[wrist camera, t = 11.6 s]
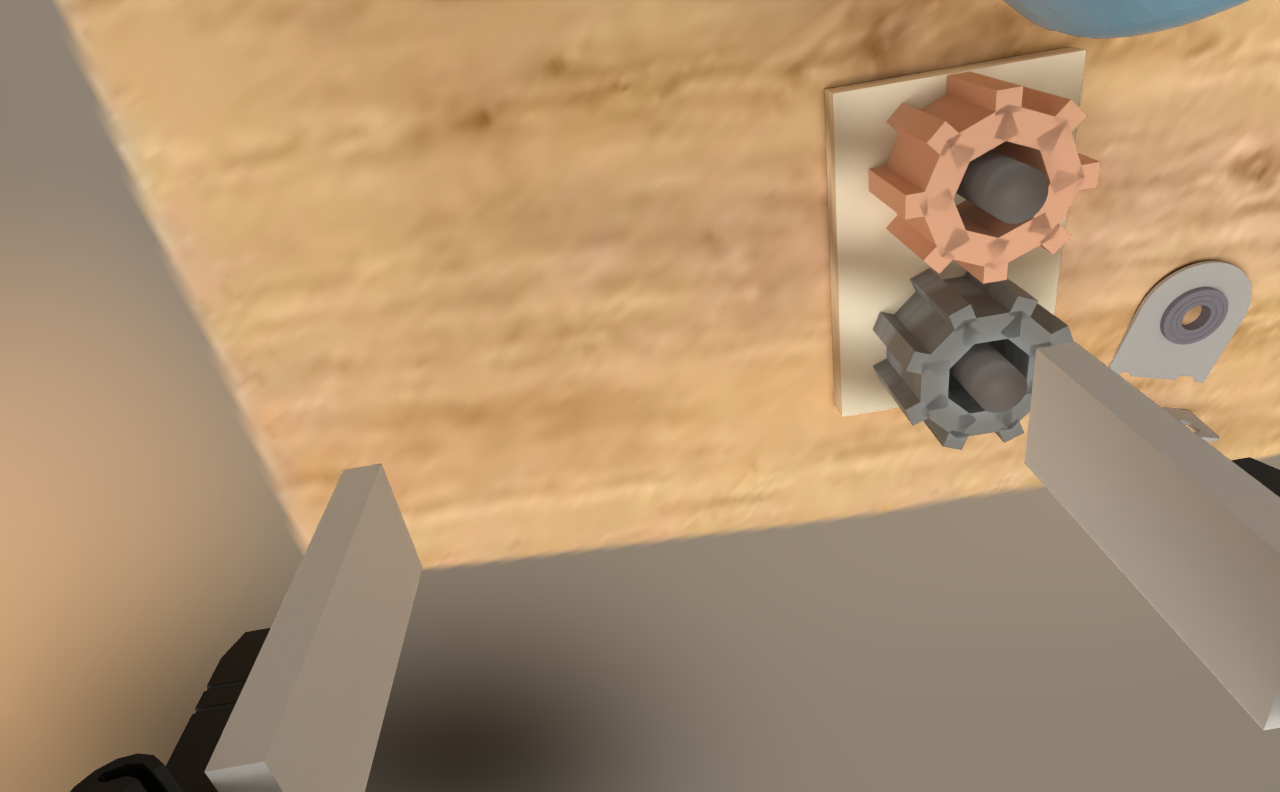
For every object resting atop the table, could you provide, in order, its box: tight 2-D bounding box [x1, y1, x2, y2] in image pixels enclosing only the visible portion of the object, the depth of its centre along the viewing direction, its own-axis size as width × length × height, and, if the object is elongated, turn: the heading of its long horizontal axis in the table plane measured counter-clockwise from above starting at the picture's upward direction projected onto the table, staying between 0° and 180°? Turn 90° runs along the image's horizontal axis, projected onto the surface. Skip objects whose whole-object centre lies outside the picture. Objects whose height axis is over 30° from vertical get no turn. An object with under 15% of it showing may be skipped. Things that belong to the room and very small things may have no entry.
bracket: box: [1109, 261, 1252, 442], centre depth 45 cm, size 6×10×4 cm, turn 173°
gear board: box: [824, 47, 1086, 450], centre depth 39 cm, size 18×12×8 cm, turn 9°
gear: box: [868, 72, 1101, 284], centre depth 36 cm, size 8×8×5 cm
